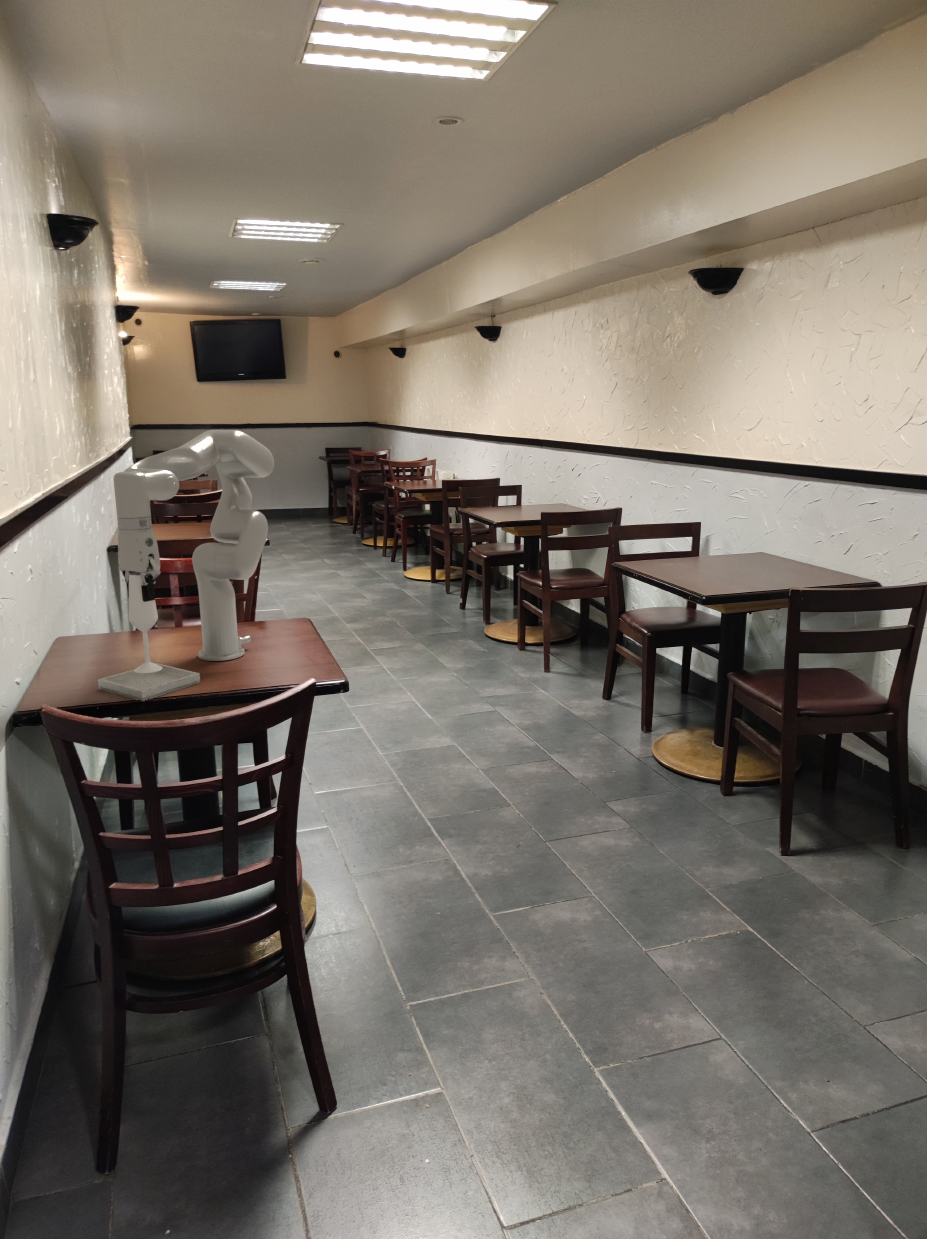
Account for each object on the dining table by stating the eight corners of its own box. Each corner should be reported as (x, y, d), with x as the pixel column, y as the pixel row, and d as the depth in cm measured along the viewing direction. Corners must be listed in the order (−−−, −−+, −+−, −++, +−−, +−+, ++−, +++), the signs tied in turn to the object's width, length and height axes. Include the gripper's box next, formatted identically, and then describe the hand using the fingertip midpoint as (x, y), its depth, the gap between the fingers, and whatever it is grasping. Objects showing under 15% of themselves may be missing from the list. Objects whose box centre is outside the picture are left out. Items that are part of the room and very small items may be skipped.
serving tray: (156, 672, 222) (155, 662, 222) (200, 682, 213) (199, 673, 213) (98, 689, 208) (97, 679, 208) (142, 701, 199) (141, 691, 199)
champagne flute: (132, 674, 206) (122, 576, 200) (135, 666, 212) (126, 571, 207) (161, 672, 207) (152, 575, 202) (163, 664, 214) (155, 570, 208)
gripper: (171, 525, 200) (177, 600, 204) (126, 520, 209) (133, 592, 213) (144, 528, 194) (151, 606, 198) (98, 523, 203) (106, 598, 207)
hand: (141, 598), depth 206 cm, fingers closed on champagne flute, 4 cm apart
